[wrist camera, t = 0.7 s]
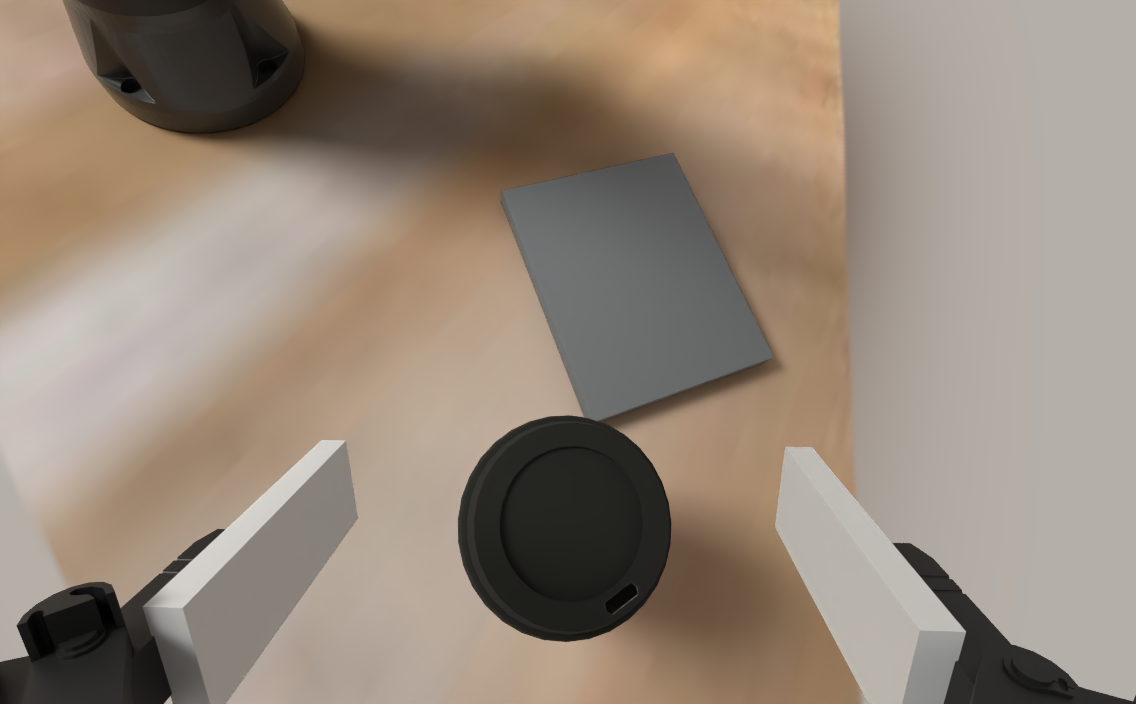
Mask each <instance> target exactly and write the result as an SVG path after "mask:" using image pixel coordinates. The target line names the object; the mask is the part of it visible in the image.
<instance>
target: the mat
mask: <svg viewBox="0 0 1136 704" xmlns="http://www.w3.org/2000/svg"><path fill="white" fill-rule="evenodd" d="M501 203H502V206H503V208H504V211H505V213H506V216H507V219H508V221H509V224H510V226H511V229H512V232H513V234H514V237H515V239H516V242H517V244H518V247H519V250H520V252H521V255H522V257H523V260H524V263H525V265H526V268H527V270H528V273H529V275H530V278H531V281H532V283H533V286H534V288H535V291H536V293H537V296H538V299H539V301H540V304H541V306H542V309H543V312H544V314H545V317H546V319H547V322H548V324H549V327H550V330H551V332H552V335H553V337H554V340H555V343H556V345H557V348H558V350H559V353H560V355H561V358H562V361H563V363H564V366H565V368H566V371H567V374H568V376H569V379H570V381H571V384H572V386H573V389H574V392H575V394H576V397H577V399H578V402H579V405H580V407H581V410H582V412H583V415H584V417H585V418H590V419H593V420H595V421H598V422H601V421H604V420H607V419H610V418H612V417H615V416H618V415H621V414H624V413H626V412H629V411H632V410H635V409H637V408H640V407H643V406H646V405H648V404H651V403H654V402H657V401H659V400H662V399H665V398H668V397H670V396H673V395H676V394H679V393H681V392H684V391H687V390H690V389H693V388H695V387H698V386H701V385H704V384H706V383H709V382H712V381H715V380H717V379H720V378H723V377H726V376H728V375H731V374H734V373H737V372H739V371H742V370H745V369H748V368H751V367H753V366H756V365H759V364H762V363H764V362H766V361H768V360H770V359H771V358H773V357H774V356H773V354H772V352H771V350H770V348H769V346H768V344H767V342H766V340H765V338H764V336H763V334H762V332H761V330H760V328H759V326H758V324H757V322H756V320H755V318H754V316H753V314H752V312H751V310H750V308H749V305H748V303H747V301H746V299H745V297H744V295H743V293H742V291H741V289H740V287H739V285H738V283H737V281H736V279H735V277H734V275H733V273H732V271H731V269H730V267H729V265H728V263H727V261H726V259H725V257H724V255H723V253H722V251H721V249H720V247H719V245H718V243H717V241H716V239H715V236H714V234H713V232H712V230H711V228H710V226H709V224H708V222H707V220H706V218H705V216H704V214H703V212H702V210H701V208H700V206H699V204H698V202H697V200H696V198H695V196H694V194H693V192H692V190H691V188H690V186H689V184H688V182H687V180H686V178H685V176H684V174H683V172H682V169H681V167H680V165H679V163H678V161H677V159H676V157H675V155H674V153H671V154H666V155H662V156H657V157H653V158H648V159H644V160H639V161H635V162H630V163H626V164H621V165H617V166H612V167H608V168H603V169H599V170H594V171H590V172H585V173H581V174H576V175H571V176H567V177H562V178H558V179H553V180H549V181H544V182H540V183H535V184H531V185H526V186H522V187H517V188H513V189H508V190H504V191H502V195H501Z"/></svg>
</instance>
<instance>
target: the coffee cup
mask: <svg viewBox="0 0 1136 704" xmlns="http://www.w3.org/2000/svg"><path fill="white" fill-rule="evenodd" d="M670 539H671V518H670V510H669V503H668V499H667V496H666V493H665V490H664V487H663V484H662V481H661V479H660V477H659V476H658V474H657V472H656V470H655V468H654V466H653V464H652V463H651V462H650V460H649V459H648V458H647V457H646V455H645V454H644V453H643V451H642V450H641V449H640V448H639V447H638V446H637V445H636V444H635V443H633V442H632V441H631V440H630V439H629V438H628V437H627V436H625V435H624V434H622V433H621V432H619V431H617V430H616V429H614V428H612V427H611V426H609V425H607V424H604V423H601V422H598V421H595V420H593V419H590V418H583V417H577V416H551V417H546V418H542V419H538V420H534V421H530V422H528V423H526V424H524V425H521V426H519V427H517V428H515V429H513V430H511V431H510V432H508V433H507V434H506V435H504V436H503V437H502V438H500V439H499V440H498V441H496V442H495V443H494V444H493V445H492V446H491V448H490V449H489V450H488V451H487V452H486V453H485V454H484V455H483V456H482V457H481V459H480V460H479V462H478V464H477V465H476V467H475V469H474V470H473V472H472V473H471V475H470V477H469V479H468V482H467V485H466V487H465V490H464V493H463V495H462V499H461V505H460V511H459V516H458V543H459V548H460V553H461V557H462V562H463V566H464V568H465V571H466V573H467V575H468V577H469V580H470V582H471V584H472V587H473V588H474V590H475V591H476V592H477V594H478V595H479V597H480V598H481V600H482V601H483V602H484V604H485V605H486V606H487V607H488V608H489V609H490V610H491V611H492V612H493V613H494V614H495V615H496V616H497V617H498V618H500V619H501V620H502V621H503V622H505V623H506V624H508V625H510V626H511V627H513V628H515V629H516V630H518V631H520V632H521V633H524V634H527V635H530V636H533V637H536V638H539V639H542V640H551V641H562V642H570V641H577V640H585V639H590V638H593V637H596V636H598V635H601V634H604V633H607V632H609V631H611V630H613V629H614V628H616V627H617V626H619V625H621V624H622V623H624V622H625V621H627V620H628V619H630V618H631V617H632V616H633V615H634V614H635V613H636V612H637V611H638V610H639V609H640V608H641V607H642V606H643V605H644V604H645V602H646V601H647V599H648V598H649V596H650V595H651V594H652V592H653V591H654V589H655V588H656V586H657V584H658V582H659V579H660V577H661V575H662V573H663V570H664V568H665V565H666V561H667V557H668V552H669V548H670Z"/></svg>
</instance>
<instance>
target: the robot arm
mask: <svg viewBox="0 0 1136 704" xmlns="http://www.w3.org/2000/svg"><path fill="white" fill-rule="evenodd" d="M63 2H64V5H65V8H66V10H67V13H68V16H69V19H70V21H71V24H72V27H73V29H74V32H75V35H76V37H77V40H78V43H79V46H80V48H81V51H82V54H83V56H84V59H85V61H86V63H87V65H88V66H89V68H90V70H91V71H92V73H93V74H94V76H95V77H96V78H97V80H98V81H99V82H100V83H101V84H102V86H103V87H104V88H105V89H106V90H107V92H108V93H109V94H110V95H111V96H112V97H113V99H114V100H115V101H116V102H117V103H118V104H119V105H120V106H121V107H123V108H124V109H125V110H127V111H128V112H129V113H131V114H132V115H134V116H136V117H138V118H139V119H142V120H144V121H146V122H148V123H151V124H153V125H156V126H159V127H163V128H166V129H171V130H176V131H183V132H199V133H201V132H217V131H224V130H230V129H234V128H238V127H241V126H244V125H247V124H250V123H253V122H255V121H257V120H259V119H261V118H263V117H265V116H267V115H268V114H270V113H272V112H273V111H274V110H276V109H277V108H278V107H280V106H281V105H282V104H283V103H284V102H285V101H286V100H287V99H288V98H289V97H290V96H291V95H292V93H293V92H294V90H295V89H296V87H297V86H298V84H299V82H300V79H301V77H302V73H303V69H304V61H305V58H304V49H303V45H302V42H301V39H300V36H299V33H298V31H297V28H296V25H295V22H294V20H293V18H292V15H291V14H290V12H289V10H288V8H287V7H286V5H285V4H284V2H283V1H282V0H63ZM357 519H358V516H357V510H356V503H355V497H354V490H353V483H352V477H351V470H350V464H349V457H348V451H347V444H346V441H342V440H321V441H320V442H319V443H318V444H317V445H316V446H315V447H314V448H313V449H311V450H310V451H309V452H308V453H307V454H306V455H305V456H304V457H303V458H302V459H301V460H300V461H299V462H297V463H296V464H295V465H294V466H293V467H292V468H291V469H290V470H289V471H288V472H287V473H286V474H285V475H284V476H282V477H281V478H280V479H279V480H278V481H277V482H276V483H275V484H274V485H273V486H272V487H271V488H270V489H268V490H267V491H266V492H265V493H264V494H263V495H262V496H261V497H260V498H259V499H258V500H257V501H256V502H255V503H253V504H252V505H251V506H250V507H249V508H248V509H247V510H246V511H245V512H244V513H243V514H242V515H241V516H239V517H238V518H237V519H236V520H235V521H234V522H233V523H232V524H231V525H230V526H229V527H228V528H227V529H217V530H215V531H214V532H212V533H210V534H208V535H207V536H205V537H203V538H201V539H200V540H198V541H196V542H195V543H193V544H192V545H191V546H190V547H189V548H188V549H187V550H186V551H184V552H183V553H182V554H181V555H180V556H179V557H178V559H177V561H173V562H172V563H171V564H170V565H169V566H168V567H166V568H165V569H164V570H163V573H162V574H159V575H158V576H156V577H155V578H154V579H153V580H152V581H151V582H150V583H149V584H147V585H146V586H145V587H144V588H143V589H142V590H141V591H140V592H138V593H137V594H136V595H135V596H134V597H133V598H132V599H131V600H129V601H128V602H127V603H126V604H125V605H124V606H123V607H122V608H121V609H120V606H119V603H118V600H117V597H116V594H115V591H114V589H113V587H112V585H111V584H108V583H105V582H91V583H85V584H81V585H78V586H74V587H70V588H68V589H66V590H63V591H61V592H58V593H56V594H53V595H52V596H50V597H48V598H47V599H45V600H43V601H41V602H40V603H38V604H36V605H35V606H34V607H33V608H32V609H30V610H29V611H28V612H27V613H26V614H25V615H23V617H22V618H21V620H20V621H19V623H18V625H17V628H18V630H19V633H20V635H21V638H22V640H23V642H24V645H25V647H26V650H27V652H28V654H29V656H26V657H22V658H17V659H12V660H8V661H2V662H0V704H164V703H165V701H166V700H167V699H168V698H169V697H170V695H171V698H172V702H173V704H226V703H227V701H228V700H229V698H230V697H231V696H232V694H233V693H234V691H235V690H236V689H237V687H238V686H239V684H240V683H241V681H242V680H243V679H244V677H245V676H246V674H247V673H248V672H249V670H250V669H251V667H252V666H253V665H254V663H255V662H256V660H257V659H258V658H259V656H260V655H261V653H262V652H263V651H264V649H265V648H266V646H267V645H268V644H269V642H270V641H271V639H272V638H273V637H274V635H275V634H276V632H277V631H278V630H279V628H280V627H281V625H282V624H283V623H284V621H285V620H286V618H287V617H288V615H289V614H290V613H291V611H292V610H293V608H294V607H295V606H296V604H297V603H298V601H299V600H300V599H301V597H302V596H303V594H304V593H305V592H306V590H307V589H308V587H309V586H310V585H311V583H312V582H313V580H314V579H315V578H316V576H317V575H318V573H319V572H320V571H321V569H322V568H323V566H324V565H325V564H326V562H327V561H328V559H329V558H330V557H331V555H332V554H333V552H334V551H335V550H336V548H337V547H338V545H339V544H340V542H341V541H342V540H343V538H344V537H345V535H346V534H347V533H348V531H349V530H350V528H351V527H352V526H353V524H354V523H355V521H356V520H357ZM775 528H776V530H777V532H778V534H779V536H780V538H781V540H782V542H783V544H784V545H785V547H786V549H787V551H788V553H789V555H790V557H791V559H792V560H793V562H794V564H795V566H796V568H797V570H798V572H799V574H800V576H801V577H802V579H803V581H804V583H805V585H806V587H807V589H808V591H809V593H810V594H811V596H812V598H813V600H814V602H815V604H816V606H817V608H818V610H819V611H820V613H821V615H822V617H823V619H824V621H825V623H826V625H827V627H828V628H829V630H830V632H831V634H832V636H833V638H834V640H835V642H836V644H837V645H838V647H839V649H840V651H841V653H842V655H843V657H844V659H845V661H846V662H847V664H848V666H849V668H850V670H851V672H852V674H853V676H854V677H855V679H856V681H857V683H858V685H859V687H860V689H861V691H862V693H863V694H864V696H865V698H866V700H867V702H868V704H1136V696H1135V699H1134V701H1133V702H1132V701H1129V700H1125V699H1121V698H1117V697H1114V696H1110V695H1107V694H1103V693H1099V692H1096V691H1092V690H1088V689H1084V688H1081V687H1079V686H1078V685H1077V684H1076V683H1075V682H1074V681H1073V679H1072V678H1071V677H1070V676H1069V675H1068V674H1067V673H1066V672H1065V671H1063V670H1062V669H1061V668H1060V667H1058V666H1057V665H1056V664H1054V663H1053V662H1052V661H1050V660H1048V659H1046V658H1044V657H1043V656H1041V655H1039V654H1037V653H1035V652H1033V651H1030V650H1027V649H1024V648H1021V647H1018V646H1016V645H1011V644H1010V642H1009V641H1008V640H1007V639H1006V638H1005V637H1004V636H1003V635H1002V634H1001V633H1000V632H999V630H998V629H997V628H996V627H995V626H994V625H993V624H992V623H991V622H990V621H989V619H988V618H987V617H986V616H985V615H984V614H983V613H982V612H981V611H980V610H979V608H978V607H977V606H976V605H975V604H974V603H973V602H972V601H971V600H970V599H969V597H968V596H967V595H966V594H963V593H962V590H961V589H960V588H959V586H958V585H956V583H955V582H954V581H953V580H952V579H949V575H948V574H947V573H946V572H945V571H944V570H943V569H942V568H941V567H940V566H939V564H938V563H937V562H936V561H935V560H934V559H933V558H931V557H930V556H928V555H927V554H926V553H924V552H923V551H921V550H920V549H918V548H916V547H915V546H913V545H912V544H910V543H892V542H891V541H890V540H889V539H888V538H887V536H886V535H885V534H884V533H883V532H882V530H881V529H880V528H879V527H878V526H877V524H876V523H875V522H874V521H873V520H872V518H871V517H870V516H869V515H868V514H867V512H866V511H865V510H864V509H863V508H862V507H861V505H860V504H859V503H858V502H857V500H856V499H855V498H854V497H853V496H852V494H851V493H850V492H849V491H848V490H847V488H846V487H845V486H844V485H843V484H842V483H841V481H840V480H839V479H838V478H837V477H836V475H835V474H834V473H833V472H832V471H831V469H830V468H829V467H828V466H827V465H826V463H825V462H824V461H823V460H822V459H821V457H820V456H819V455H818V454H817V453H816V451H815V450H814V449H813V448H812V447H785V453H784V461H783V468H782V476H781V484H780V492H779V499H778V507H777V515H776V522H775Z"/></svg>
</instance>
